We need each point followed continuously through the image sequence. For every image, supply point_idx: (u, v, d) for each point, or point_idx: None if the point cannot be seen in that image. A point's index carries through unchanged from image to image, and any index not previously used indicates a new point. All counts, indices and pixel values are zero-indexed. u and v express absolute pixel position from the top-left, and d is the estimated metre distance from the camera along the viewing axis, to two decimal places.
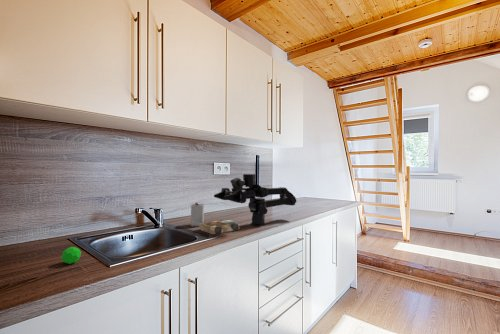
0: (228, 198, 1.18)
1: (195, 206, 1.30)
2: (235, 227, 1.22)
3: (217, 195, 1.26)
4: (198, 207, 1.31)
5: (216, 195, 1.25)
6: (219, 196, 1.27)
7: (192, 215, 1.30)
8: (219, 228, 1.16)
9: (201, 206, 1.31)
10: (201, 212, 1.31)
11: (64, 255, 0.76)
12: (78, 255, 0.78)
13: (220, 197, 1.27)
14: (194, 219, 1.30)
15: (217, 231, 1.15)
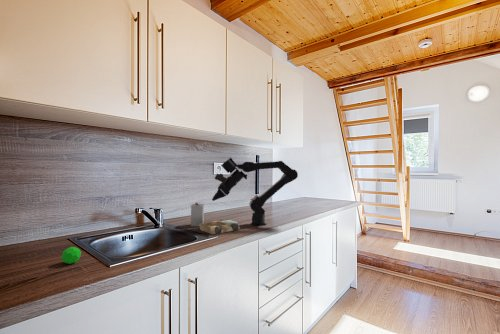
0: (216, 198, 1.29)
1: (195, 206, 1.30)
2: (235, 227, 1.22)
3: None
4: (198, 207, 1.31)
5: None
6: None
7: (192, 215, 1.30)
8: (219, 228, 1.16)
9: (201, 206, 1.31)
10: (201, 212, 1.31)
11: (64, 255, 0.76)
12: (78, 255, 0.78)
13: None
14: (194, 219, 1.30)
15: (217, 231, 1.15)
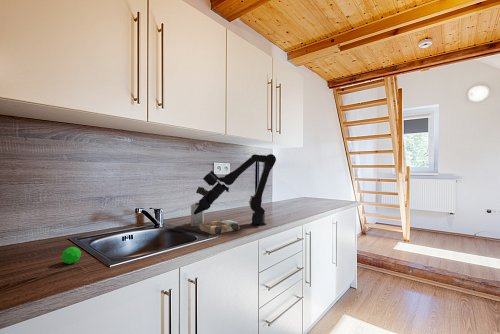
0: (197, 212, 1.30)
1: (195, 206, 1.30)
2: (235, 227, 1.22)
3: None
4: None
5: None
6: None
7: (192, 215, 1.30)
8: (219, 228, 1.16)
9: None
10: (201, 212, 1.31)
11: (64, 255, 0.76)
12: (78, 255, 0.78)
13: None
14: (194, 219, 1.30)
15: (217, 231, 1.15)
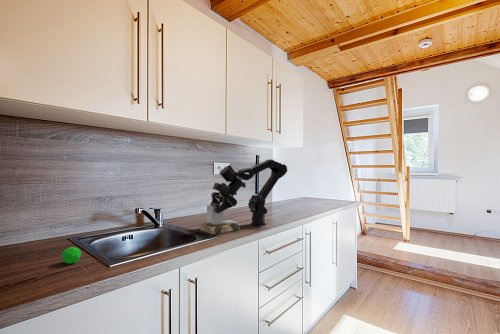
0: (221, 210, 1.18)
1: (216, 207, 1.19)
2: (235, 227, 1.22)
3: None
4: None
5: None
6: None
7: (213, 217, 1.18)
8: (219, 228, 1.16)
9: None
10: (222, 213, 1.21)
11: (64, 255, 0.76)
12: (78, 255, 0.78)
13: None
14: (215, 221, 1.19)
15: (217, 231, 1.15)
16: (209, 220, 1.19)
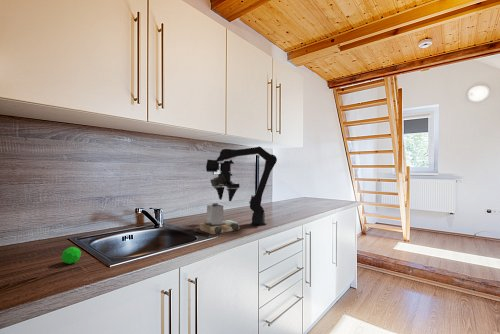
0: (231, 197, 1.33)
1: (216, 207, 1.19)
2: (235, 227, 1.22)
3: (220, 196, 1.40)
4: (219, 208, 1.20)
5: (220, 197, 1.40)
6: (221, 193, 1.41)
7: (213, 217, 1.18)
8: (219, 228, 1.16)
9: (222, 207, 1.21)
10: (222, 213, 1.21)
11: (64, 255, 0.76)
12: (78, 255, 0.78)
13: (222, 192, 1.41)
14: (215, 221, 1.19)
15: (217, 231, 1.15)
16: (209, 220, 1.19)
